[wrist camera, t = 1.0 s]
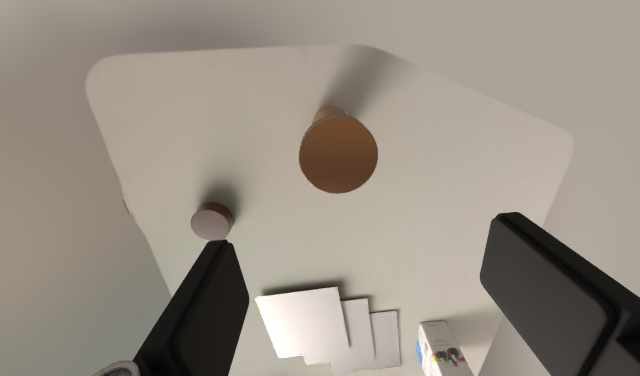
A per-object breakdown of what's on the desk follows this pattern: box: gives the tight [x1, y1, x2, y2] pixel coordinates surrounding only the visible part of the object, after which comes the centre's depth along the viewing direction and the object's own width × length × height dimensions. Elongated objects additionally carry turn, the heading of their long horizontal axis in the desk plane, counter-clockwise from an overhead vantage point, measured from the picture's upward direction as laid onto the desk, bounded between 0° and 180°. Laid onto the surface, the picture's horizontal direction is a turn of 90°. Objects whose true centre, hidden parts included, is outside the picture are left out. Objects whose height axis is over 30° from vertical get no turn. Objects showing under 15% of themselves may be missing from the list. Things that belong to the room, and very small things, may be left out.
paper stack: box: [255, 287, 400, 374], centre depth 47 cm, size 23×25×1 cm
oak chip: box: [299, 114, 378, 194], centre depth 20 cm, size 6×6×2 cm
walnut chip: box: [191, 203, 234, 241], centre depth 35 cm, size 5×5×2 cm
